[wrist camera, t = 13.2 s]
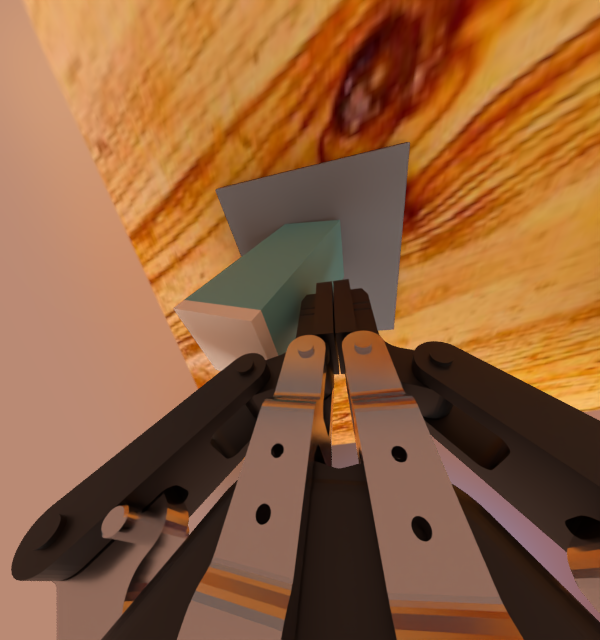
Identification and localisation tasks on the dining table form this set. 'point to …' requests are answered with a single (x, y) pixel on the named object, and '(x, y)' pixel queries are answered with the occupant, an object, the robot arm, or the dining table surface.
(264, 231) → the mat
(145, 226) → the dining table surface
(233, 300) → the block
